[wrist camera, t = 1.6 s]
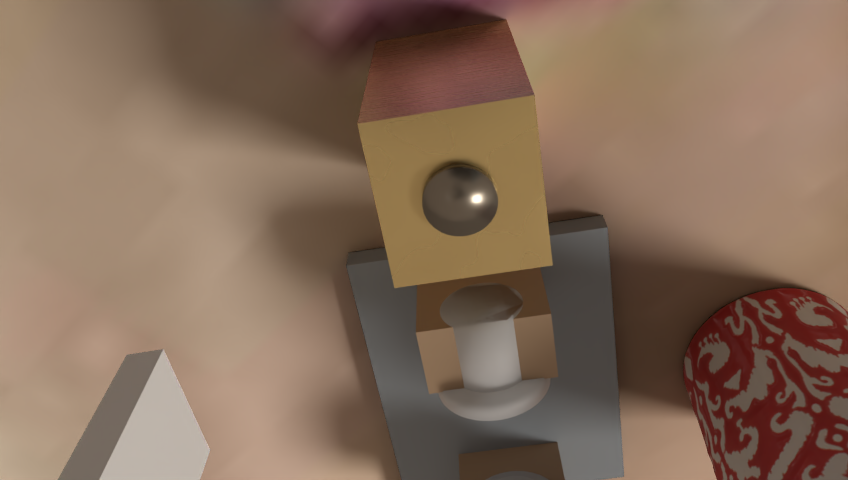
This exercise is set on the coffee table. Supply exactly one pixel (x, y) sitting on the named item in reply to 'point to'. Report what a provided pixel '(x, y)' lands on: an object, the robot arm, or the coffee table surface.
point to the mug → (773, 387)
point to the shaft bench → (565, 397)
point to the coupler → (454, 155)
